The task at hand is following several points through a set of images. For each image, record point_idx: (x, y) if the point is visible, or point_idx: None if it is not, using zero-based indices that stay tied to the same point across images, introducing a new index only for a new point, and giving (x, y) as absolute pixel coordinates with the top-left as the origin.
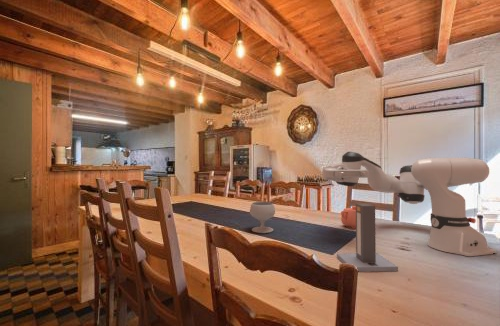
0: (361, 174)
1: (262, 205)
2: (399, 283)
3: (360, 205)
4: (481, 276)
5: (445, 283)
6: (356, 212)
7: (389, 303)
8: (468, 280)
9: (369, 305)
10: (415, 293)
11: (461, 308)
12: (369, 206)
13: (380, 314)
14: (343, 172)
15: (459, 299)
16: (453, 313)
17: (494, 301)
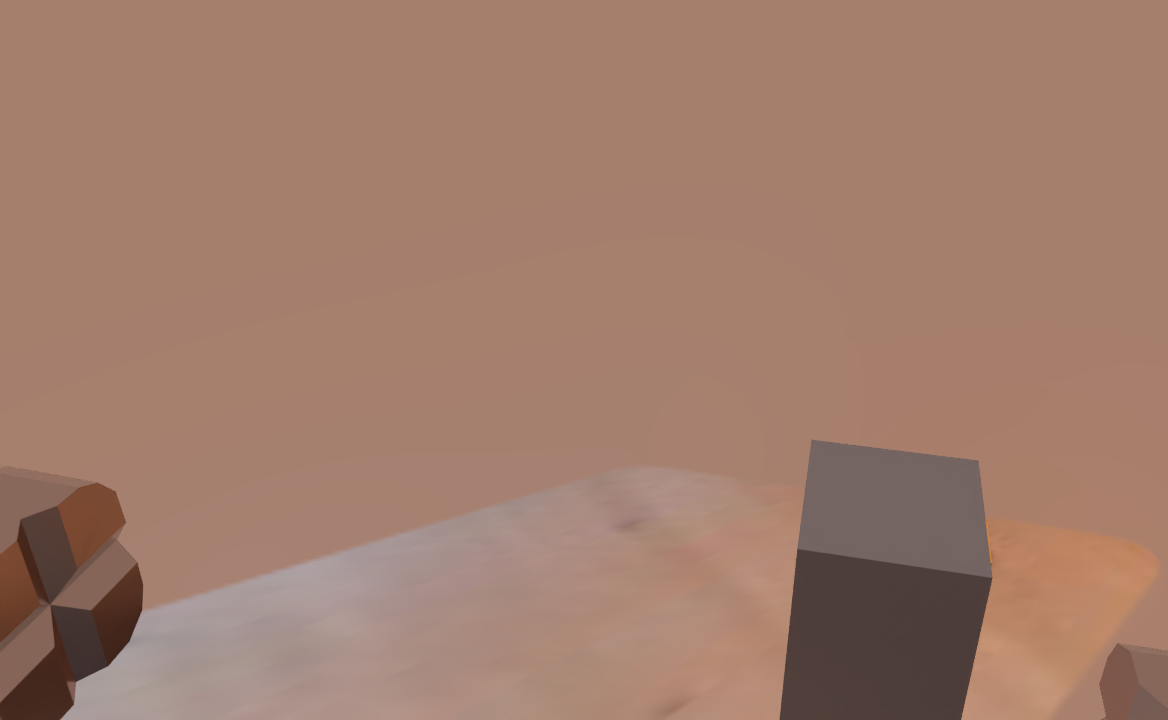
0: (95, 584)
1: None
2: (774, 690)
3: (981, 493)
4: (195, 634)
5: (501, 633)
6: (968, 664)
7: None
8: (333, 625)
9: (1081, 597)
10: (769, 611)
11: (671, 515)
12: (884, 455)
13: (1058, 553)
14: (1141, 651)
15: (606, 546)
16: (738, 506)
17: (475, 513)
